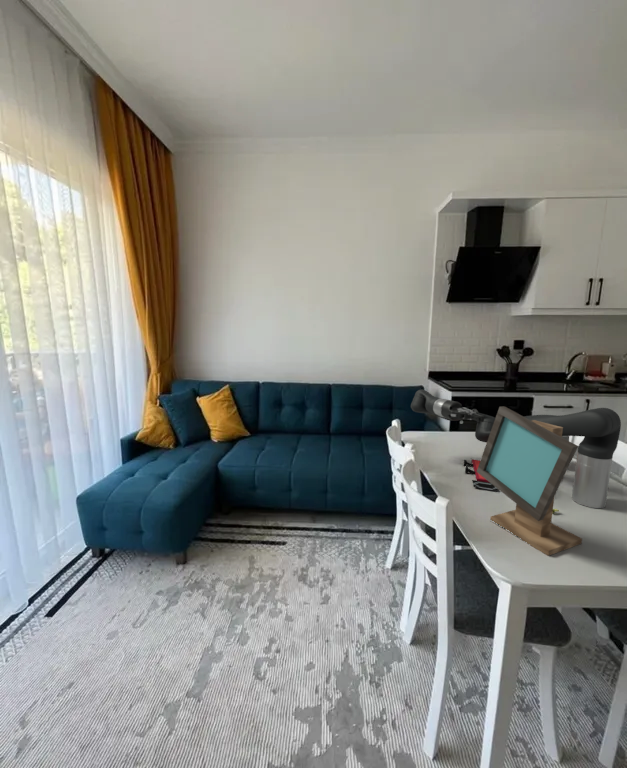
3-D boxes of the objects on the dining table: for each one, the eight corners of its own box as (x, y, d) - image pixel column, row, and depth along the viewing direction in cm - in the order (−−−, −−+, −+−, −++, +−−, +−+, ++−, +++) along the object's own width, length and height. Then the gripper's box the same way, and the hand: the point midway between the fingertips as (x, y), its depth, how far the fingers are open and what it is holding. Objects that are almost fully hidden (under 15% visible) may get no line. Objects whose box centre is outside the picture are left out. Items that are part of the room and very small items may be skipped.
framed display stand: (521, 512, 112) (531, 414, 107) (581, 543, 96) (597, 430, 90) (490, 520, 107) (499, 418, 101) (548, 555, 90) (563, 436, 85)
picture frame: (481, 470, 113) (504, 406, 103) (543, 519, 94) (578, 446, 85) (476, 471, 112) (499, 406, 102) (538, 521, 93) (573, 447, 84)
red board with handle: (468, 488, 129) (512, 495, 124) (468, 481, 129) (513, 488, 124) (462, 460, 157) (499, 466, 152) (463, 455, 156) (499, 460, 151)
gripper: (459, 416, 143) (494, 427, 127) (434, 419, 138) (467, 430, 122) (460, 398, 141) (496, 407, 126) (435, 401, 137) (469, 410, 121)
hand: (482, 419), depth 124 cm, fingers closed
